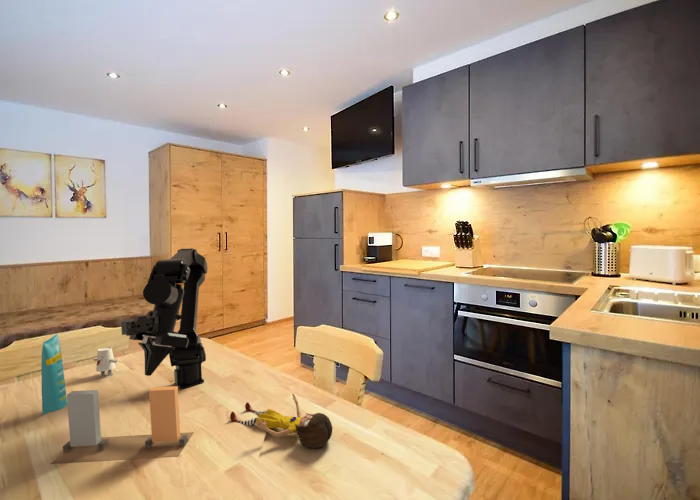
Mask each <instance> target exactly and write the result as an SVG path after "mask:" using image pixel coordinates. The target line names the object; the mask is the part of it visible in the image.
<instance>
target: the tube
mask: <svg viewBox="0 0 700 500" xmlns="http://www.w3.org/2000/svg"><path fill="white" fill-rule="evenodd" d="M63 363H64V362H63V356H62V350H61V344H60V339H59V333H58V332H57V333H55V334H54V335H53V336H52V337H50V338H48V339H47V340H44V341H43V342H42V347H41V370H40V371H41V409H42V410H41V412H42V415H43V416H46V414H48V413H53V412H57V411H59V410H62V409H64V408H65V407H66V406H68V404H67V391H66V390H67V388H66V380H65V372H64V371H65V370H64V364H63Z"/></svg>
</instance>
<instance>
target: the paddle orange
mask: <svg viewBox="0 0 700 500" xmlns="http://www.w3.org/2000/svg"><path fill="white" fill-rule="evenodd" d="M148 393H149V408H150V409H149V410H150V427H151V429H150V430H151V435H152V442H161V441H177V440H178V439H179V437H180V433H181V425H180V424H181V423H180V405H179V402H180V401H179V386H178V385H175V386H172V385H171V386H154V387H152V388H150V389H149V390H148Z"/></svg>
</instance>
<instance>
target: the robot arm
mask: <svg viewBox="0 0 700 500" xmlns="http://www.w3.org/2000/svg"><path fill="white" fill-rule="evenodd" d="M207 273H208V262H207V260H206V257H204V256H203V255H202V254H200V253H198V251H197V249H196V248H193V247H192V248H180V249H177V252H176V253H175V254H174V255H173V256H172V257H171V258H168V259H167V258H166V259H165V258H164V259H160V260H157V261H156V262H155V265H153V267H152V269H151V271H150V275H149V277H148V280H147V284H146V285H145V286H144V288H143V290H142V296H143V298H144V300H145V301H146V302H147V303H149V304H151V305H154V307H153V309H152V310H149V311H148V312H147V313H146V315H144V314H142V315H139V316H135V318H130V319H125V320H121V321H120V325H121V326H120V327H121V336H126V337H128V336H129V340H133V341H141V342H138V345H139V346H140V348H142V350H143V351H144V354H143V355H144V375H145V376H146V377H147V376H149V377H150V376H152V375H153V373H154V372H155V371H156V370H157V368H159V366H160V365H161V363H163V361H164V360H165V359H166V357H168V356H169V361H170V367H175V368H174V369H173V372H174V373H173V376H174V384H175V385H176V386H178V388H180V390H181V389H186V388H189V387H193V386H195V385H196V386H197V385H199V384H202V383H205V379H204V378H203V377H202V376H203V375H202V364H203V363H204V362H206V361H207V355H206V350H205V347H204V345H203V343H202V340H201V337H200V335H199V334H198V332H197V321H198V320H197V319H198V309H199V290H200V287H201V286H202V284H204V283H205V280H206V275H207ZM182 284H183V285H182ZM180 310H181V312H180ZM177 320H180V322H179V329H178V331H175V327H176V324H177Z"/></svg>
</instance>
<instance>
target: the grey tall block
mask: <svg viewBox="0 0 700 500" xmlns="http://www.w3.org/2000/svg"><path fill="white" fill-rule="evenodd" d="M66 397H67V415H68V417H67V418H68V430H69V441H70V446H71V447H74V446H91V445H97V444H98V443H99V442H100V441H101V437H102V430H101V420H100V419H101V415H100V402H99V400H100V399H99V389H94V390H93V389H91V390H89V389H88V390H72V391H70V392H69V393H66Z"/></svg>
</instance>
